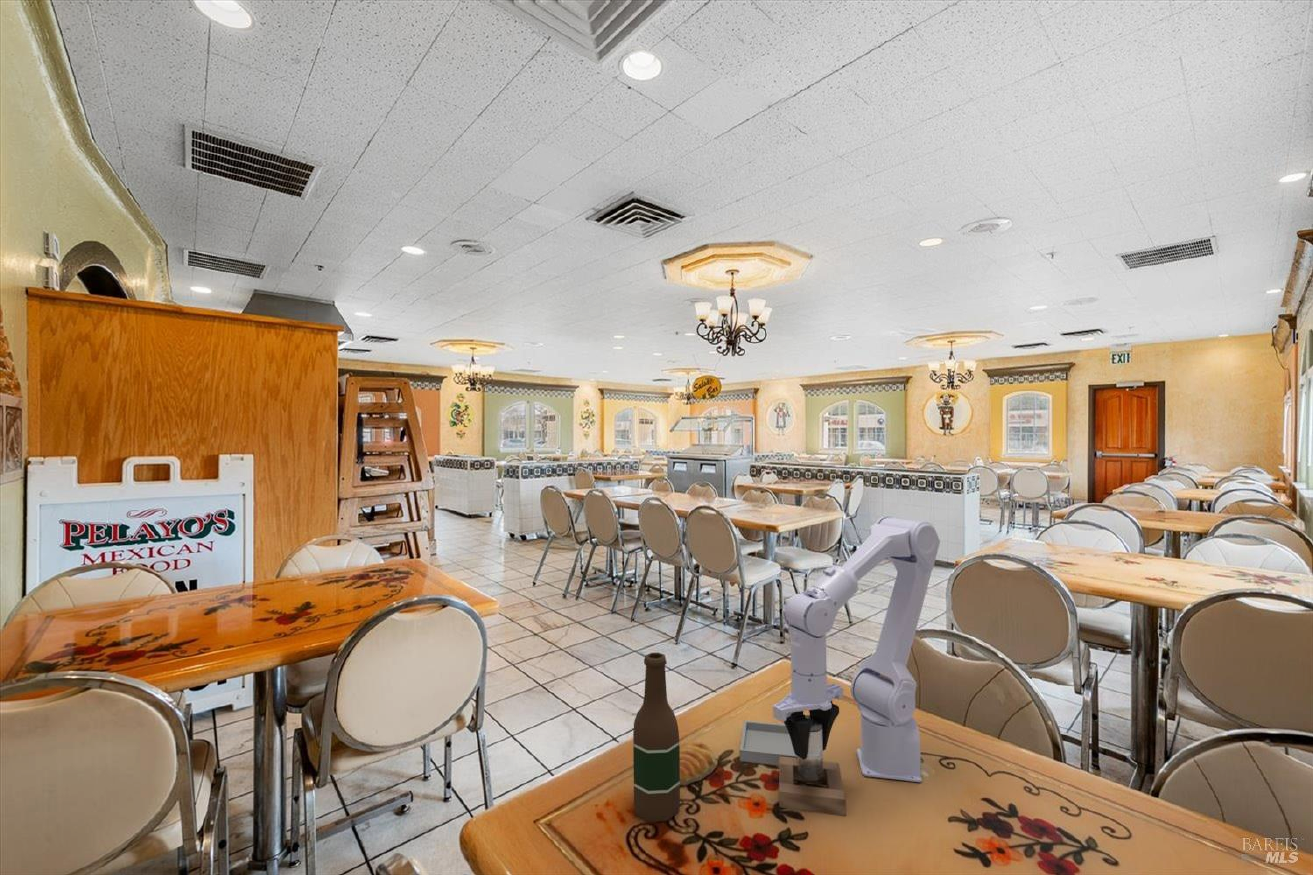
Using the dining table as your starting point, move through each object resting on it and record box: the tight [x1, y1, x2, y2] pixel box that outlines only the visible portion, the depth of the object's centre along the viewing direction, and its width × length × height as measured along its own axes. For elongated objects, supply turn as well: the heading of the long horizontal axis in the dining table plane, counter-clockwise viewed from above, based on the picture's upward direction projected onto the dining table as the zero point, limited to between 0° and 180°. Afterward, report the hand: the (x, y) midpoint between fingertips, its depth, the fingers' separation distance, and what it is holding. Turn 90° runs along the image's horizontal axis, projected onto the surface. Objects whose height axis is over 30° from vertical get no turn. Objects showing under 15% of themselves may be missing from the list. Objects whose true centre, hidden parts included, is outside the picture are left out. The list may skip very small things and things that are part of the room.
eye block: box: [778, 756, 847, 817], centre depth 91 cm, size 10×10×2 cm
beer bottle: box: [632, 652, 681, 823], centre depth 87 cm, size 8×8×24 cm
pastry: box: [680, 741, 718, 786], centre depth 96 cm, size 9×7×4 cm
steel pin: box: [798, 714, 824, 780], centre depth 91 cm, size 4×4×8 cm
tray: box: [739, 720, 798, 767], centre depth 104 cm, size 12×11×2 cm
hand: (810, 751), depth 91 cm, fingers closed on steel pin, 4 cm apart
